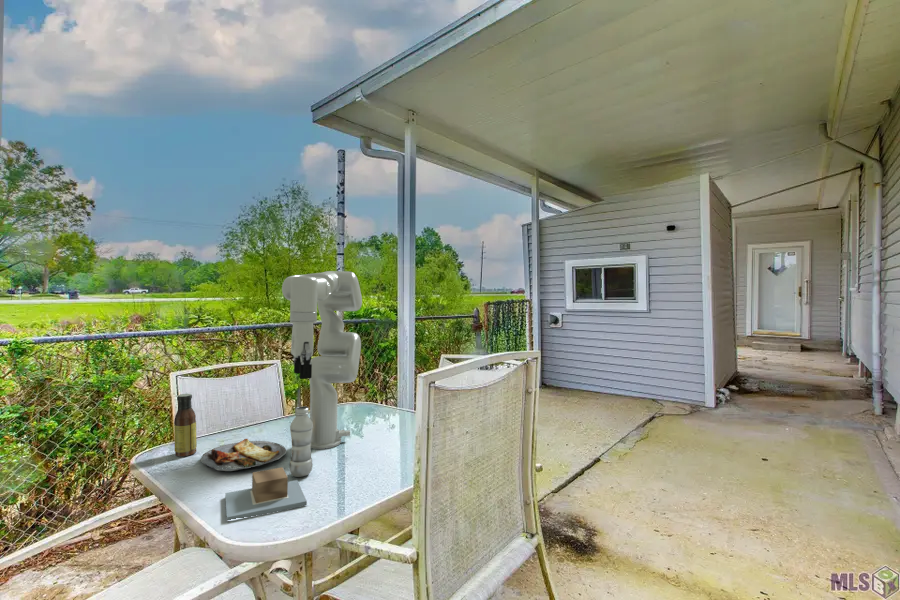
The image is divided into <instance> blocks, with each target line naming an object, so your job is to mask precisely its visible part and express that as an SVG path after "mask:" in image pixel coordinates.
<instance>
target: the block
mask: <svg viewBox="0 0 900 600" xmlns="http://www.w3.org/2000/svg"><path fill="white" fill-rule="evenodd" d="M251 474H252V475H251V478H252V479H251V482H252V484H251V488H252V493H253V496H254V499H255V502H256V503H259V502H264V501H269V500H273V499H278V498H283V497H287V491H288V482H289V478H288V474H287V473H286V472H285V469H284V467H283V466H282V467H274V468H270V469H265V470H260V471H254V472H252V473H251Z"/></svg>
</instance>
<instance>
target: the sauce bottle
mask: <svg viewBox="0 0 900 600" xmlns="http://www.w3.org/2000/svg"><path fill="white" fill-rule="evenodd" d="M192 399H193V395H192V393H182V394H178V395H177V401H178V402H177V405H178V406H177V411H176V414H175V416H174V421H173V425H174V426H173V430H174V432H173V433H174V452H175V456H176V457H182V458H184V457H188V456H192V455H194V454H195V453H196V452H197V441H198V440H197V421H196V420H197V418H196V412H195V411H194V408H193V405H192Z"/></svg>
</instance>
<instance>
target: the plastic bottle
mask: <svg viewBox="0 0 900 600" xmlns="http://www.w3.org/2000/svg"><path fill="white" fill-rule="evenodd" d="M309 415H310V411H309V406H304V405H303V406H297V407H295V412H294V416H295V417H294V418H293V420H292V421H291V423H290V425H289V430H290V439H291V456H290V460H289V461H290V462H289V466H288V467H289V468H288V469H289V474H290V475H291V476H292V477H295V478H300V477H301V478H302V477H307V476H308V475H310V474H311V472H312V470H313V465H314V464H313V459H312V450H311V449H312V448H311V435H312V428H313V424H312V421H311V419H310V416H309Z"/></svg>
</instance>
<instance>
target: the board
mask: <svg viewBox="0 0 900 600" xmlns="http://www.w3.org/2000/svg"><path fill="white" fill-rule="evenodd" d="M224 497H225V499H224V500H225V513H226V514H225V516H227V518H226V521H227V520H231V519H236V518H244V517H251V516H256V515H260V516H263V515H262V514H265V515H268V514H267V513H270V514H273V512H275V513H279V512H283V510H284V511H288V510H287V509H289V510H292V509H291V508H294V509H296V508H295V507H299V508H301V507H300V506H303V507H305V506H304V505H307V506H308V503H307V502H308V500H307V499H306V496H305V494H304V492H303V490H302V487H301V485H300V483H299V481H298V479H296V480H290V481H289V480H288V491H287V497H283V498H278V499H273V500H269V501H264V502H259V503H256V502H255V499H254V496H253V493H252V487H251V488H246V489H245V488H244V489H239V490H236V491H235V490H234V491H228V492H225V495H224ZM277 511H278V512H277ZM256 517H257V516H256ZM251 518H252V517H251Z"/></svg>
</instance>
